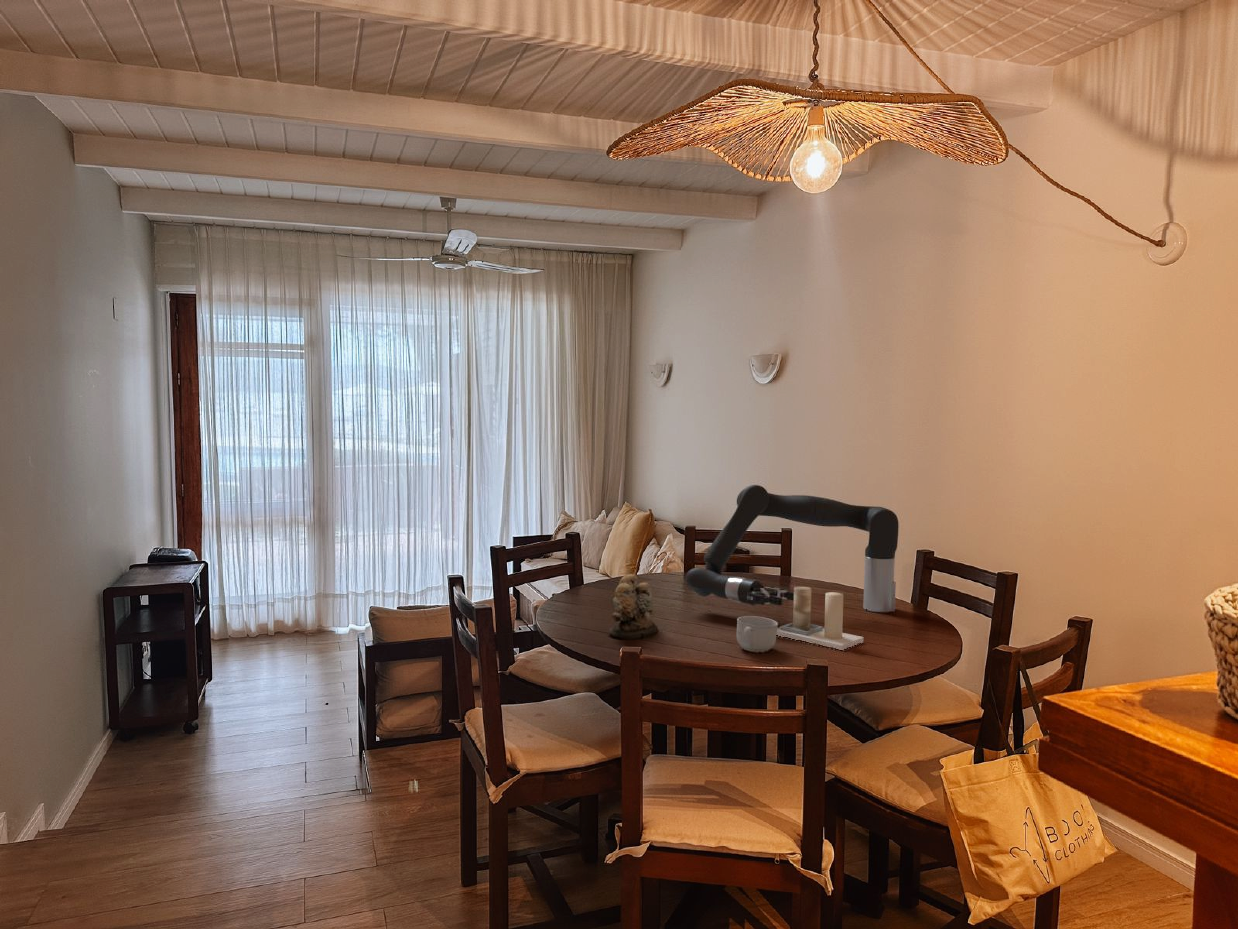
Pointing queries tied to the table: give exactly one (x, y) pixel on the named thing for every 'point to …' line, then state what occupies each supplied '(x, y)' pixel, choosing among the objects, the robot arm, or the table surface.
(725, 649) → the table surface
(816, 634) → the board
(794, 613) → the maple post
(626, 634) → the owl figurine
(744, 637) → the teacup
